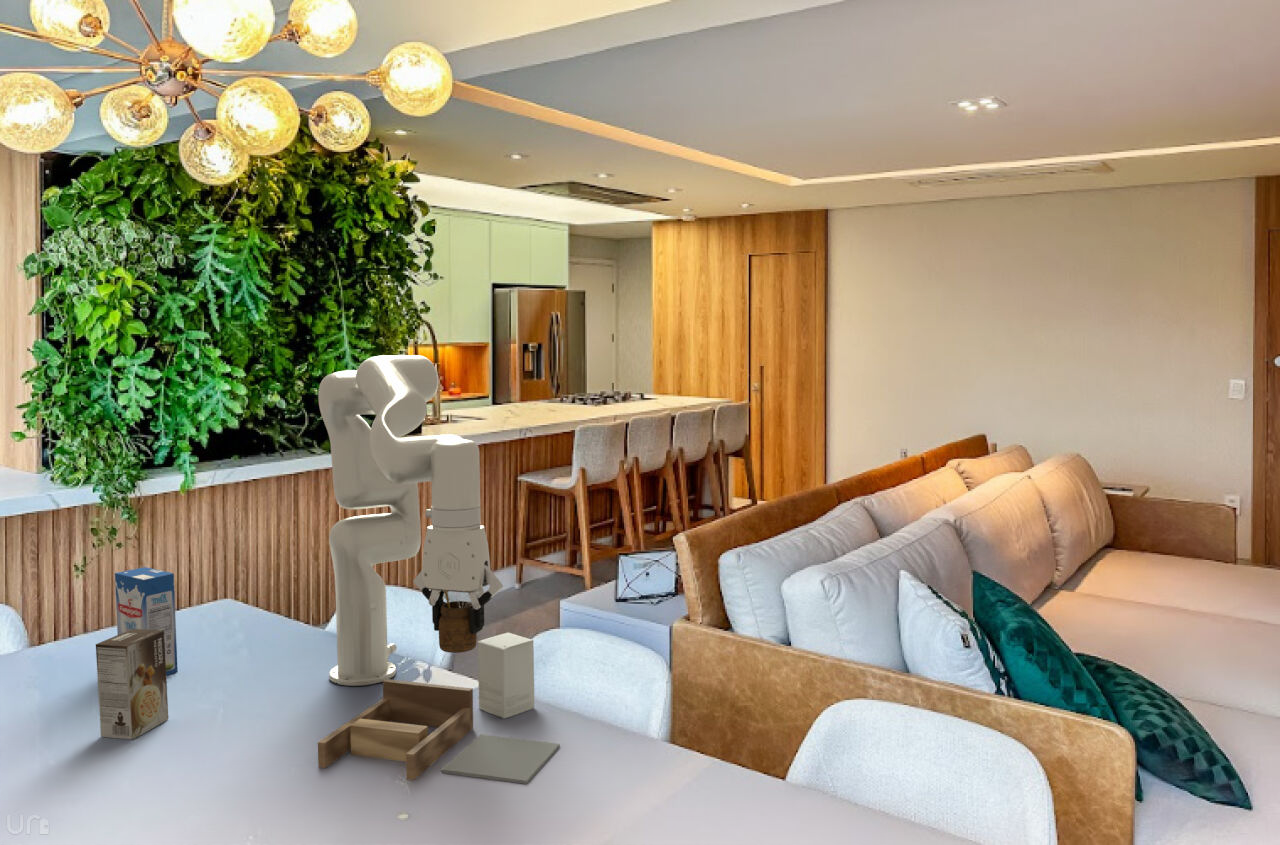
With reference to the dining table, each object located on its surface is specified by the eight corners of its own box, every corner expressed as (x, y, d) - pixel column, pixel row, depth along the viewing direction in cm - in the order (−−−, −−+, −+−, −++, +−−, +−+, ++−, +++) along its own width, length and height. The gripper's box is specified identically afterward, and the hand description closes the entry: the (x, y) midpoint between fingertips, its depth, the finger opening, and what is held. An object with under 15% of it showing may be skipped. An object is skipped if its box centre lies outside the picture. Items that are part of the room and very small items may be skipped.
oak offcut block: (360, 748, 161) (360, 718, 161) (428, 756, 158) (427, 726, 158) (350, 755, 158) (350, 725, 158) (419, 764, 155) (418, 733, 155)
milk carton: (177, 672, 197) (174, 573, 195) (148, 681, 192) (143, 579, 190) (148, 663, 202) (144, 566, 200) (119, 672, 197) (114, 573, 195)
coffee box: (137, 717, 174) (133, 627, 172) (169, 719, 172) (166, 629, 171) (98, 737, 165) (94, 643, 163) (132, 740, 164) (128, 645, 162)
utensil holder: (458, 656, 154) (457, 580, 153) (429, 649, 158) (428, 575, 157) (484, 646, 159) (483, 572, 158) (455, 639, 163) (454, 567, 162)
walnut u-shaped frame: (387, 718, 173) (386, 679, 173) (473, 728, 169) (472, 688, 168) (318, 767, 154) (317, 723, 153) (413, 780, 149) (412, 735, 149)
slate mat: (480, 737, 165) (480, 734, 165) (559, 746, 161) (559, 743, 161) (441, 772, 152) (441, 769, 152) (526, 783, 148) (526, 780, 148)
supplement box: (535, 708, 178) (535, 639, 177) (503, 719, 173) (502, 649, 172) (509, 698, 183) (508, 631, 182) (477, 708, 178) (476, 640, 177)
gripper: (395, 519, 156) (398, 632, 157) (496, 524, 151) (497, 641, 152) (419, 511, 163) (422, 619, 164) (516, 516, 158) (517, 627, 159)
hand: (458, 628), depth 158 cm, fingers closed on utensil holder, 5 cm apart
